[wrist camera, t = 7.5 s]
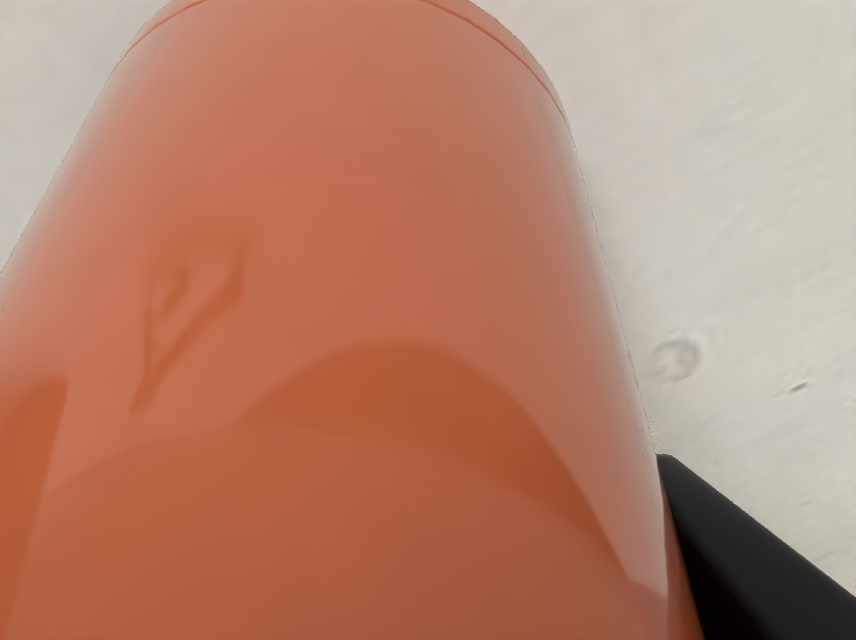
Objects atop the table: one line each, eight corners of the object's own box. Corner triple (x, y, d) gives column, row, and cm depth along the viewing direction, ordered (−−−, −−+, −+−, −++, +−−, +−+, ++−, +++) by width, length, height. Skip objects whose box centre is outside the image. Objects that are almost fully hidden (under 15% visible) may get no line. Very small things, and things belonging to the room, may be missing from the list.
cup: (649, 953, 7) (1469, 1495, 1) (14, 965, 7) (-1625, 1546, 2) (545, 332, 13) (633, -60, 7) (187, 339, 13) (-16, -47, 7)
